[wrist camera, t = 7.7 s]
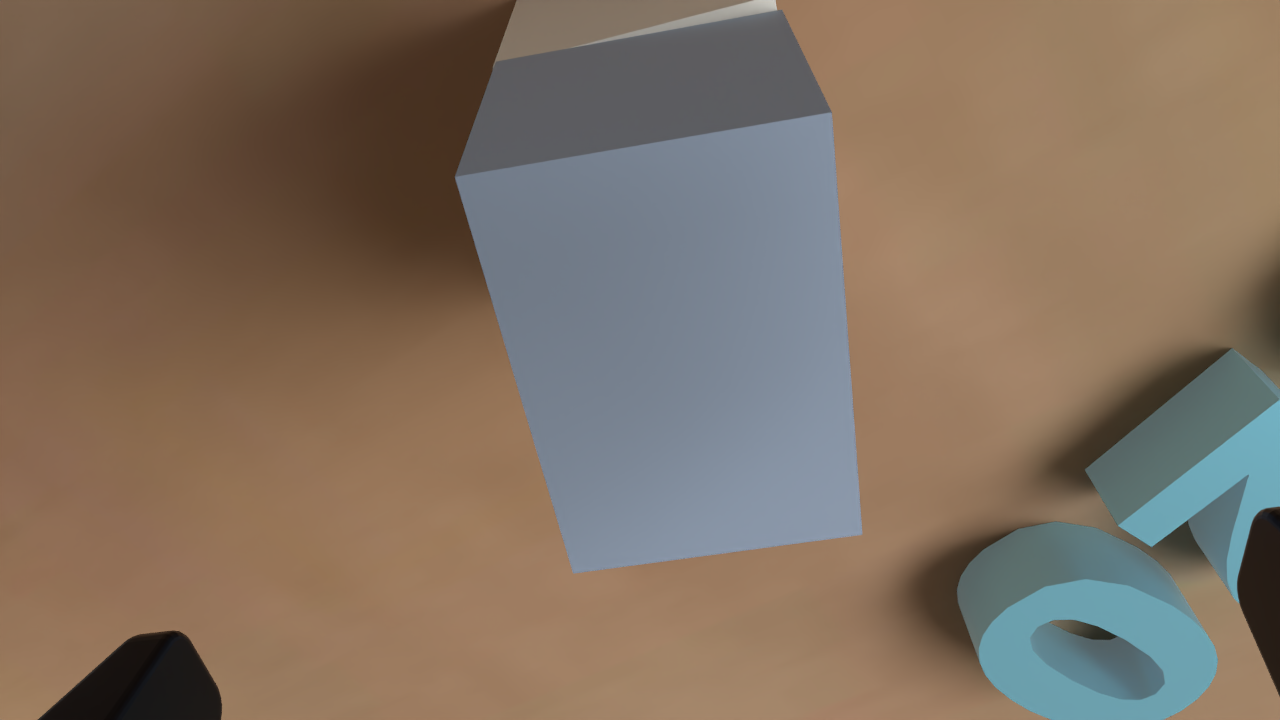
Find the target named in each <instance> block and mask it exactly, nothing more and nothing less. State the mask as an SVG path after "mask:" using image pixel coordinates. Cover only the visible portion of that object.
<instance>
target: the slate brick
mask: <svg viewBox="0 0 1280 720" xmlns="http://www.w3.org/2000/svg"><path fill="white" fill-rule="evenodd" d="M455 179H456V183H457V186H458V189H459V193H460V196H461V199H462V203H463V206H464V209H465V213H466V216H467V220H468V223H469V226H470V230H471V233H472V236H473V240H474V243H475V246H476V250H477V253H478V256H479V260H480V263H481V266H482V270H483V273H484V276H485V280H486V283H487V286H488V290H489V293H490V296H491V300H492V303H493V306H494V310H495V313H496V316H497V320H498V323H499V327H500V330H501V333H502V337H503V340H504V343H505V347H506V350H507V353H508V357H509V360H510V363H511V367H512V370H513V373H514V377H515V380H516V383H517V387H518V390H519V393H520V397H521V400H522V403H523V407H524V410H525V413H526V417H527V420H528V423H529V427H530V430H531V434H532V437H533V440H534V444H535V447H536V450H537V454H538V457H539V460H540V464H541V467H542V470H543V474H544V477H545V480H546V484H547V487H548V490H549V494H550V497H551V500H552V504H553V507H554V510H555V514H556V517H557V520H558V524H559V527H560V530H561V534H562V537H563V541H564V544H565V547H566V551H567V554H568V557H569V561H570V564H571V567H572V571H573V573H580V572H588V571H595V570H603V569H610V568H618V567H625V566H632V565H640V564H647V563H655V562H662V561H670V560H677V559H685V558H692V557H699V556H707V555H714V554H722V553H729V552H737V551H744V550H751V549H759V548H766V547H774V546H781V545H789V544H796V543H804V542H811V541H818V540H826V539H833V538H841V537H848V536H856V535H862V524H861V510H860V496H859V482H858V468H857V454H856V441H855V427H854V413H853V399H852V385H851V372H850V358H849V344H848V330H847V316H846V302H845V289H844V275H843V261H842V247H841V233H840V219H839V206H838V192H837V178H836V164H835V150H834V137H833V123H832V112H831V110H830V108H829V106H828V104H827V101H826V99H825V97H824V95H823V93H822V91H821V89H820V87H819V85H818V83H817V81H816V79H815V77H814V75H813V73H812V71H811V69H810V67H809V64H808V62H807V60H806V58H805V56H804V54H803V52H802V50H801V48H800V46H799V44H798V42H797V40H796V38H795V36H794V34H793V32H792V29H791V27H790V25H789V23H788V21H787V19H786V17H785V15H784V13H783V11H782V10H778V11H772V12H766V13H761V14H755V15H750V16H744V17H739V18H733V19H728V20H722V21H717V22H711V23H706V24H700V25H695V26H689V27H684V28H678V29H673V30H667V31H662V32H656V33H651V34H645V35H640V36H634V37H629V38H623V39H618V40H612V41H607V42H601V43H596V44H590V45H585V46H579V47H574V48H568V49H562V50H557V51H551V52H546V53H540V54H535V55H529V56H524V57H518V58H513V59H507V60H502V61H496V63H495V65H494V68H493V71H492V74H491V77H490V79H489V82H488V85H487V88H486V91H485V94H484V96H483V99H482V102H481V105H480V108H479V110H478V113H477V116H476V119H475V122H474V124H473V127H472V130H471V133H470V136H469V138H468V141H467V144H466V147H465V150H464V152H463V155H462V158H461V161H460V164H459V166H458V169H457V172H456V175H455Z"/></svg>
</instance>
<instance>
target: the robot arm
mask: <svg viewBox="0 0 1280 720" xmlns="http://www.w3.org/2000/svg"><path fill="white" fill-rule="evenodd" d="M1237 593H1238V599H1239V603H1240V606H1241V609H1242V611H1243V614H1244V616H1245V618H1246V621H1247V623H1248V625H1249V628H1250V630H1251V632H1252V634H1253V637H1254V639H1255V641H1256V644H1257V646H1258V648H1259V650H1260V653H1261V655H1262V657H1263V659H1264V662H1265V664H1266V666H1267V669H1268V671H1269V673H1270V675H1271V678H1272V680H1273V682H1274V685H1275V687H1276V689H1277V691H1278V694H1279V696H1280V507H1271V508H1265V509H1263V510H1260V511H1259V512H1258V513H1257V514H1256V516H1255V517H1254V518H1253V521H1252V524H1251V527H1250V531H1249V535H1248V539H1247V543H1246V547H1245V550H1244V554H1243V558H1242V562H1241V566H1240V570H1239V573H1238V578H1237ZM221 715H222V703H221V696H220V693H219V689H218V687H217V685H216V683H215V682H214V680H213V678H212V677H211V675H210V673H209V671H208V670H207V668H206V666H205V665H204V663H203V661H202V659H201V658H200V656H199V654H198V653H197V651H196V649H195V648H194V646H193V644H192V642H191V641H190V639H189V638H188V637H187V636H186V635H184V634H183V633H181V632H180V631H165V632H157V633H148V634H140V635H136V636H134V637H132V638H130V639H128V640H127V641H126V642H124V643H123V644H122V645H121V646H120V647H118V648H117V649H116V650H115V651H114V652H113V653H112V654H111V655H109V656H108V657H107V658H106V659H105V660H104V661H103V662H102V663H101V664H99V665H98V666H97V667H96V668H95V669H94V670H93V671H92V672H91V673H89V674H88V675H87V676H86V677H85V678H84V679H83V680H82V681H80V682H79V683H78V684H77V685H76V686H75V687H74V688H73V689H72V690H70V691H69V692H68V693H67V694H66V695H65V696H64V697H63V698H61V699H60V700H59V701H58V702H57V703H56V704H55V705H54V706H53V707H51V708H50V709H49V710H48V711H47V712H46V713H45V714H44V715H42V716H41V717H40V718H39V719H38V720H221Z"/></svg>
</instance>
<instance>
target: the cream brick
mask: <svg viewBox="0 0 1280 720" xmlns="http://www.w3.org/2000/svg"><path fill="white" fill-rule="evenodd" d="M772 11H777V7H776V1H775V0H517V1H516V3H515V6H514V9H513V12H512V15H511V17H510V20H509V23H508V26H507V28H506V31H505V34H504V37H503V40H502V42H501V45H500V48H499V51H498V54H497V56H496V59H495V62H494V65H495V63H496V61H502V60H507V59H513V58H518V57H524V56H529V55H535V54H540V53H546V52H551V51H557V50H562V49H568V48H574V47H579V46H585V45H590V44H596V43H601V42H607V41H612V40H618V39H623V38H629V37H634V36H640V35H645V34H651V33H656V32H662V31H667V30H673V29H678V28H684V27H689V26H695V25H700V24H706V23H711V22H717V21H722V20H728V19H733V18H739V17H744V16H750V15H755V14H761V13H766V12H772ZM494 65H493V68H494Z"/></svg>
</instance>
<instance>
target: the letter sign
mask: <svg viewBox="0 0 1280 720" xmlns="http://www.w3.org/2000/svg"><path fill="white" fill-rule="evenodd" d="M1085 471H1086V473H1087V474H1088V476H1089V478H1090V479H1091V481H1092V483H1093V485H1094V486H1095V488H1096V490H1097V491H1098V493H1099V495H1100V496H1101V498H1102V500H1103V502H1104V503H1105V505H1106V507H1107V508H1108V510H1109V512H1110V513H1111V515H1112V517H1113V518H1114V520H1115V522H1116V524H1117V525H1118V526H1119V527H1121V528H1122V529H1124V530H1125V531H1127V532H1129V533H1130V534H1132V535H1133V536H1135V537H1136V538H1138V539H1140V540H1141V541H1143V542H1144V543H1146V544H1148V545H1149V546H1151V547H1152V546H1154V545H1155V544H1156V543H1158V542H1159V541H1160V540H1162V539H1163V538H1164V537H1166V536H1167V535H1168V534H1170V533H1171V532H1172V531H1174V530H1175V529H1176V528H1178V527H1179V526H1180V525H1182V524H1183V523H1184V522H1186V521H1187V520H1188V525H1189V527H1190V529H1191V532H1192V534H1193V537H1194V539H1195V541H1196V542H1197V544H1198V545H1199V547H1200V548H1201V550H1202V551H1203V553H1204V554H1205V556H1206V557H1207V559H1208V560H1209V562H1210V563H1211V565H1212V566H1213V568H1214V569H1215V571H1216V572H1217V574H1218V575H1219V577H1220V578H1221V580H1222V581H1223V583H1224V584H1225V586H1226V587H1227V589H1228V590H1229V592H1230V593H1231V595H1232V596H1233V598H1234V599H1235V600H1236V601H1237V602H1238V603H1239V599H1238V593H1237V578H1238V573H1239V570H1240V566H1241V562H1242V558H1243V554H1244V550H1245V547H1246V543H1247V539H1248V535H1249V531H1250V527H1251V524H1252V521H1253V518H1254V517H1255V516H1256V514H1257V513H1258V512H1259V511H1260V510H1263V509H1265V508H1271V507H1280V389H1279V388H1278V387H1277V386H1276V385H1275V384H1274V383H1273V382H1272V381H1271V380H1270V379H1269V378H1268V377H1267V375H1266V374H1265V373H1264V372H1263V371H1262V370H1260V369H1259V368H1258V367H1256V366H1255V365H1254V364H1252V363H1251V362H1250V361H1248V360H1247V359H1246V358H1245V357H1243V356H1242V355H1241V354H1239V353H1238V352H1237V351H1235V350H1234V349H1233V348H1232V349H1230V350H1229V351H1228V352H1227V353H1226V354H1224V355H1223V356H1222V357H1221V358H1219V359H1218V360H1217V361H1216V362H1215V363H1213V364H1212V365H1211V366H1210V367H1209V368H1207V369H1206V370H1205V371H1204V372H1202V373H1201V374H1200V375H1199V376H1198V377H1196V378H1195V379H1194V380H1193V381H1192V382H1190V383H1189V384H1188V385H1187V386H1185V387H1184V388H1183V389H1182V390H1181V391H1179V392H1178V393H1177V394H1176V395H1175V396H1173V397H1172V398H1171V399H1170V400H1169V401H1167V402H1166V403H1165V404H1164V405H1162V406H1161V407H1160V408H1159V409H1158V410H1156V411H1155V412H1154V413H1153V414H1152V415H1150V416H1149V417H1148V418H1147V419H1145V420H1144V421H1143V422H1142V423H1141V424H1139V425H1138V426H1137V427H1136V428H1135V429H1133V430H1132V431H1131V432H1130V433H1128V434H1127V435H1126V436H1125V437H1124V438H1122V439H1121V440H1120V441H1119V442H1118V443H1116V444H1115V445H1114V446H1113V447H1112V448H1110V449H1109V450H1108V451H1107V452H1105V453H1104V454H1103V455H1102V456H1101V457H1099V458H1098V459H1097V460H1096V461H1095V462H1093V463H1092V464H1091V465H1090V466H1088V467H1087V468H1086V469H1085ZM957 596H958V604H959V607H960V610H961V612H962V615H963V618H964V621H965V623H966V626H967V629H968V632H969V634H970V637H971V640H972V643H973V645H974V648H975V651H976V654H977V656H978V659H979V662H980V664H981V666H982V669H983V671H984V673H985V675H986V676H987V678H988V679H989V680H990V681H991V682H992V684H993V685H994V686H995V687H996V688H997V689H998V690H999V691H1001V692H1002V693H1003V694H1004V695H1006V696H1007V697H1008V698H1009V699H1011V700H1012V701H1014V702H1016V703H1017V704H1019V705H1021V706H1023V707H1024V708H1026V709H1028V710H1029V711H1031V712H1034V713H1036V714H1039V715H1041V716H1044V717H1046V718H1049V719H1051V720H1163V719H1165V718H1167V717H1169V716H1172V715H1174V714H1176V713H1178V712H1180V711H1182V710H1183V709H1184V708H1186V707H1187V706H1188V705H1190V704H1191V703H1192V702H1194V701H1195V700H1196V699H1198V698H1199V697H1200V696H1201V694H1202V693H1203V692H1204V691H1205V690H1206V689H1207V688H1208V687H1209V686H1210V684H1211V682H1212V680H1213V678H1214V676H1215V674H1216V669H1217V662H1218V659H1217V655H1216V651H1215V647H1214V645H1213V643H1212V642H1211V640H1210V638H1209V637H1208V635H1207V634H1206V632H1205V630H1204V629H1203V627H1202V625H1201V624H1200V622H1199V621H1198V619H1197V617H1196V616H1195V614H1194V612H1193V611H1192V609H1191V608H1190V606H1189V604H1188V603H1187V601H1186V600H1185V598H1184V596H1183V595H1182V593H1181V591H1180V590H1179V588H1178V587H1177V585H1176V583H1175V582H1174V580H1173V579H1172V577H1171V575H1170V574H1169V573H1168V572H1167V571H1166V570H1165V569H1164V568H1163V567H1162V566H1161V565H1160V564H1159V563H1158V562H1157V561H1156V560H1154V559H1153V558H1152V557H1150V556H1149V555H1147V554H1146V553H1145V552H1143V551H1142V550H1140V549H1139V548H1138V547H1136V546H1133V545H1131V544H1129V543H1127V542H1125V541H1123V540H1121V539H1119V538H1117V537H1114V536H1112V535H1110V534H1108V533H1106V532H1104V531H1102V530H1100V529H1098V528H1094V527H1088V526H1081V525H1075V524H1068V523H1062V522H1051V523H1046V524H1041V525H1036V526H1031V527H1025V528H1020V529H1017V530H1015V531H1014V532H1012V533H1010V534H1009V535H1007V536H1005V537H1004V538H1002V539H1000V540H999V541H997V542H995V543H994V544H992V545H990V546H988V547H987V548H985V549H983V550H982V551H981V552H980V553H979V554H978V555H977V556H976V557H975V558H974V559H973V560H972V561H971V562H970V563H969V564H968V566H967V568H966V569H965V571H964V572H963V574H962V575H961V577H960V581H959V584H958V588H957ZM1052 620H1077V621H1081V622H1084V623H1088V624H1091V625H1095V626H1098V627H1100V628H1102V629H1104V630H1106V631H1108V632H1110V633H1112V634H1114V635H1116V636H1118V637H1116V638H1114V639H1111V640H1092V639H1088V638H1085V637H1082V636H1078V635H1075V634H1071V633H1069V632H1067V631H1065V630H1063V629H1061V628H1059V627H1057V626H1055V625H1053V624H1051V623H1049V622H1050V621H1052Z"/></svg>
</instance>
